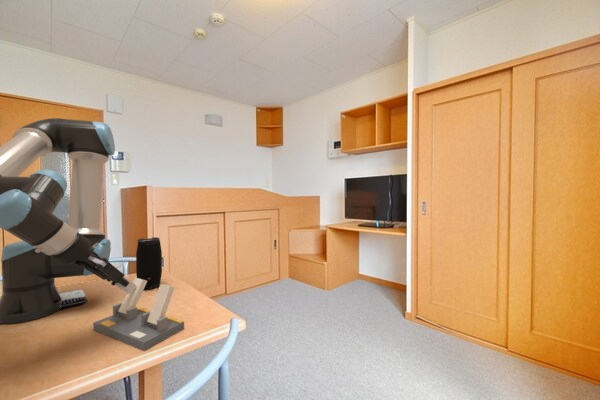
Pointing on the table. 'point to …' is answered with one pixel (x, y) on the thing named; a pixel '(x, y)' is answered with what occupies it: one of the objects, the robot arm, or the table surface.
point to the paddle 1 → (132, 296)
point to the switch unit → (137, 327)
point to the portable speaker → (149, 261)
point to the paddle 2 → (160, 304)
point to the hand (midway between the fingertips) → (132, 289)
